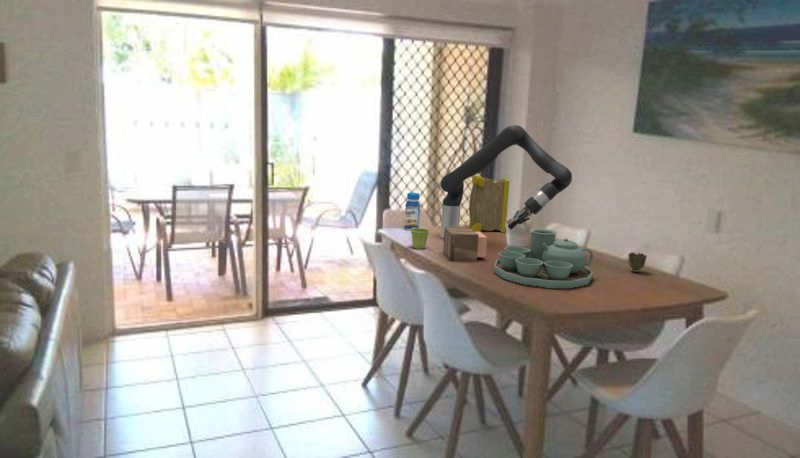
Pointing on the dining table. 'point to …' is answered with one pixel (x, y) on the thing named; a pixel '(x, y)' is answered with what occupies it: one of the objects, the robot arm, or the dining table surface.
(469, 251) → the brown box with drawer
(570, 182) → the robot arm
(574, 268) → the tea set
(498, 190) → the decorative book
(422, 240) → the plant pot
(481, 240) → the salmon pink block
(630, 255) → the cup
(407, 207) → the beverage bottle
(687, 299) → the dining table surface
